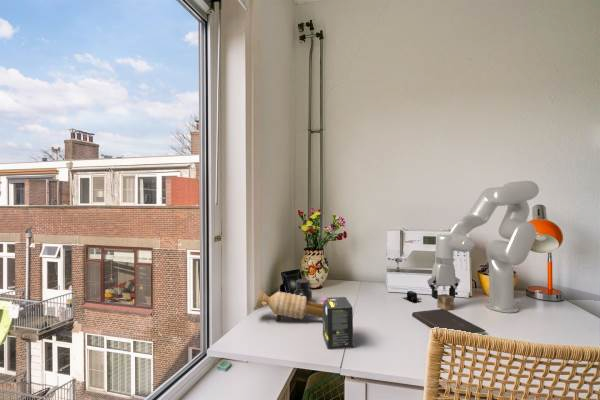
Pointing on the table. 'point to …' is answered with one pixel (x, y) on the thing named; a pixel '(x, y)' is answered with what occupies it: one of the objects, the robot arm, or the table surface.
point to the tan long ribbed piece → (289, 305)
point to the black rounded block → (412, 297)
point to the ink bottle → (303, 289)
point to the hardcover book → (446, 321)
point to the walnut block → (445, 302)
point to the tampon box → (337, 323)
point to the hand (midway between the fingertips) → (443, 297)
